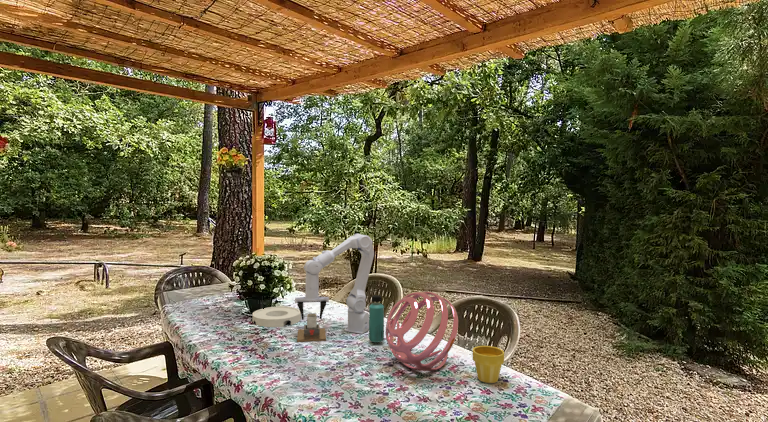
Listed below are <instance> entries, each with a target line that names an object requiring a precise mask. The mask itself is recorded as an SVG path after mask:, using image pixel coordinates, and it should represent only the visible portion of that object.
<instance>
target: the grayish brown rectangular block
mask: <svg viewBox="0 0 768 422" xmlns="http://www.w3.org/2000/svg"><path fill="white" fill-rule="evenodd" d="M317 315H318V314H316V313H307V315H306V325H307V329H316V328H317V324H318V323H317V318H318V317H317Z"/></svg>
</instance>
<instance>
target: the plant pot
mask: <svg viewBox="0 0 768 422" xmlns="http://www.w3.org/2000/svg"><path fill="white" fill-rule="evenodd" d="M472 360H473V362H474V365H475V369H476V375H477V379H478V381H480V382H482V383H484V384H485V383H487V384H495V383H498V381H499V377H500V373H501V369H502V366H503V364H504V363H505V351H504V350H502V349H501V348H499V347H496V346H490V345H479V346H475V347H473V348H472Z"/></svg>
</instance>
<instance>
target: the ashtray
mask: <svg viewBox="0 0 768 422" xmlns="http://www.w3.org/2000/svg"><path fill="white" fill-rule="evenodd" d="M251 319H252V322H253V323H254V322H255V323H254V324H255V326H257V325H259V326H258V327H261V326H264V327H263V328H281V327H284V326H286V325H287V324H288V323H289V322H290V325H291V326H292V325H294V324H295V325H296V324H298V323H299V322H300V321H301V320H302V316H301V312H300V310H299V308H298V307H293V306H268V307H265V308H264V309H263V308H260V309H257V310H254V311H253V312H252V318H251ZM253 323H252V324H253Z"/></svg>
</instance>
